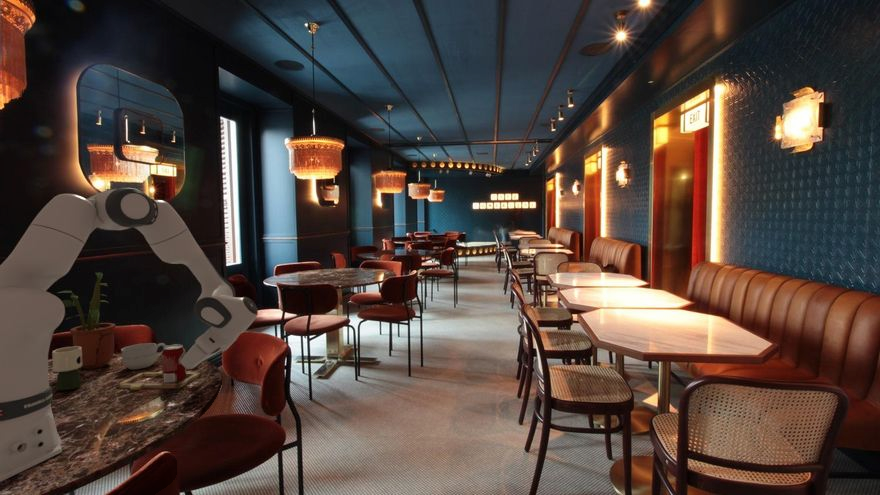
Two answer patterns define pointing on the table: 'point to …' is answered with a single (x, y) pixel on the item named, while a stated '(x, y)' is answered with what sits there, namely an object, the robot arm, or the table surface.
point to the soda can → (173, 364)
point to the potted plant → (93, 331)
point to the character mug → (67, 367)
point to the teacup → (140, 355)
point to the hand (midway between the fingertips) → (191, 366)
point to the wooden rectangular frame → (139, 386)
